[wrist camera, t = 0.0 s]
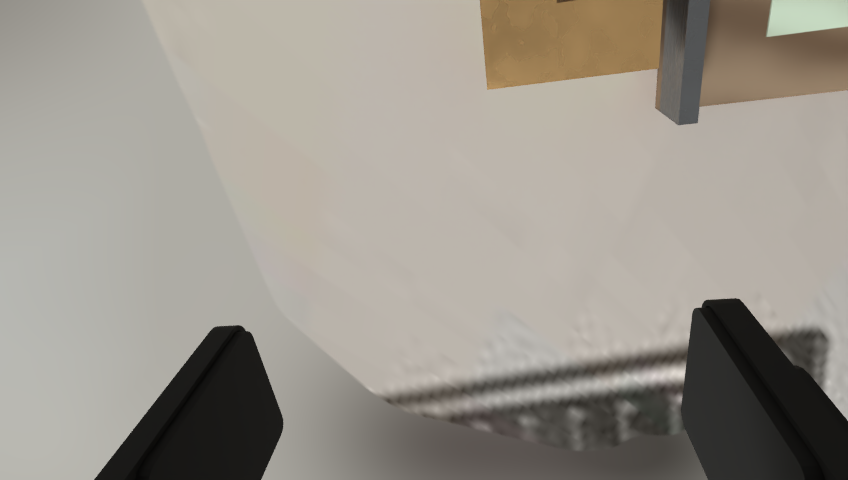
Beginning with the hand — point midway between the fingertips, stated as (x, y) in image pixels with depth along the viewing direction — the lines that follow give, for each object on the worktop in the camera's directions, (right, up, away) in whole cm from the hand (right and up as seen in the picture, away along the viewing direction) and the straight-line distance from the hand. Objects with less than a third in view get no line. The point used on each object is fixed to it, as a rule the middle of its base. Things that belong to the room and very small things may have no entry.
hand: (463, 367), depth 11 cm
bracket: (+8, +21, +24) cm, 33 cm away
